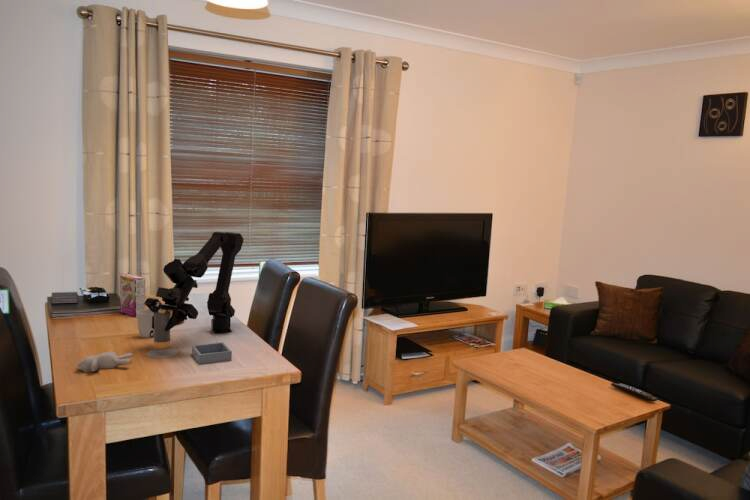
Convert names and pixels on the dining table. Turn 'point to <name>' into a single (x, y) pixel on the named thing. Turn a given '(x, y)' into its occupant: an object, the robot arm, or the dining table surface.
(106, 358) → the bunny figurine
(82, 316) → the dining table surface
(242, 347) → the dining table surface
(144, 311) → the cup
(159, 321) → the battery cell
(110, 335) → the dining table surface
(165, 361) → the dining table surface
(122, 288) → the candy bar box
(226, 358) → the dish
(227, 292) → the robot arm
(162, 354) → the pad
